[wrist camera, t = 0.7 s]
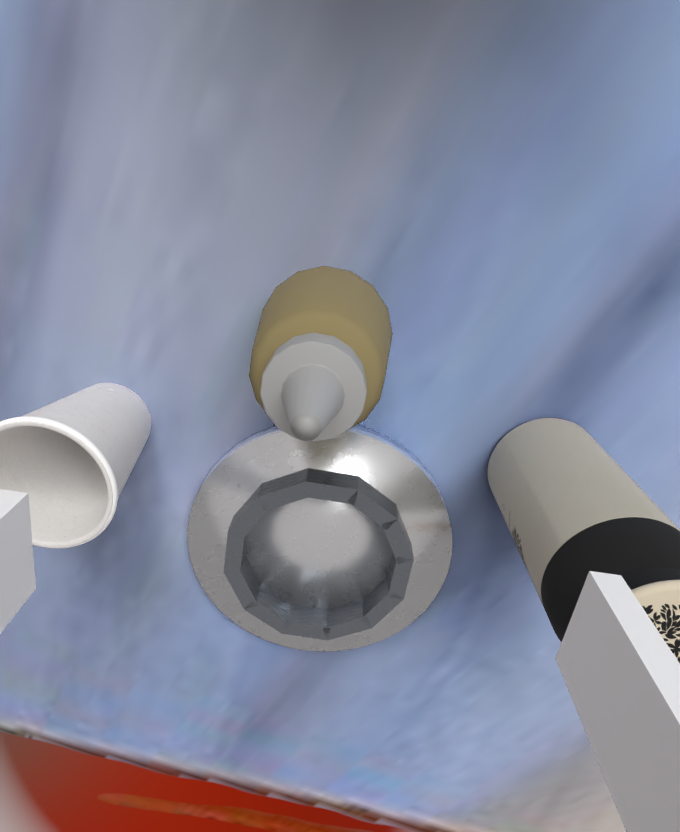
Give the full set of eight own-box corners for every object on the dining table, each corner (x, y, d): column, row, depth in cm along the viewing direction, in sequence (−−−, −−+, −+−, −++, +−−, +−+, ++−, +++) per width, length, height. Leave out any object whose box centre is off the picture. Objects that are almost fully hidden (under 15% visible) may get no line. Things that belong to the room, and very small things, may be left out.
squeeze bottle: (271, 379, 39) (209, 520, 23) (264, 259, 36) (185, 320, 20) (388, 378, 39) (411, 520, 22) (390, 257, 36) (419, 317, 19)
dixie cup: (49, 358, 39) (-46, 410, 30) (169, 371, 39) (111, 427, 30) (59, 465, 42) (-24, 542, 33) (170, 476, 42) (118, 557, 33)
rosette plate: (201, 399, 40) (188, 417, 37) (478, 443, 41) (488, 465, 37) (185, 619, 47) (172, 650, 44) (418, 653, 48) (423, 687, 45)
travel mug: (588, 402, 39) (759, 560, 23) (604, 497, 42) (768, 701, 25) (475, 433, 40) (559, 606, 24) (498, 524, 43) (588, 736, 26)
